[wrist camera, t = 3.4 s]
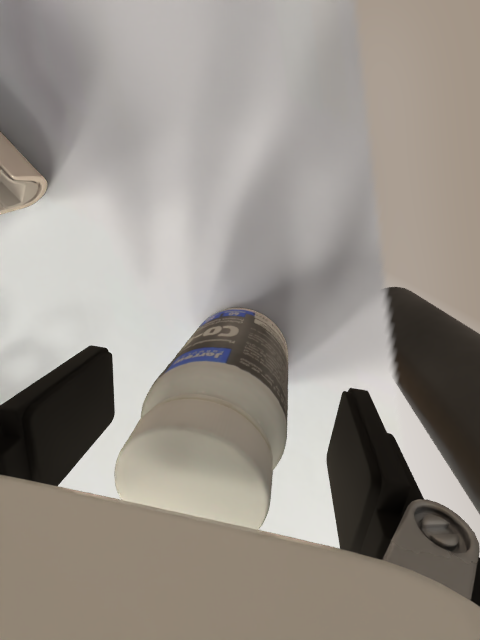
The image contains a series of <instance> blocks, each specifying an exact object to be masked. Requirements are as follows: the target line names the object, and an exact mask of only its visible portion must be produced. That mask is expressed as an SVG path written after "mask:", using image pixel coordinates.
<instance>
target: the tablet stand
mask: <svg viewBox="0 0 480 640" xmlns="http://www.w3.org/2000/svg"><path fill="white" fill-rule="evenodd" d="M46 190H47V181H46V180H45V178H44V177H43V176H42V175H41V174H40V173H39V172H38V171H37V170H36V169H35V168H34V167H33V166H32V165H31V164H30V163H29V162H28V160H27V159H26V158H25V157H24V156H23V155H22V154H21V153H20V152H19V151H18V150H17V149H16V148H15V147H14V146H13V145H12V144H11V142H10V141H9V140H8V139H7V138H6V137H5V136H4V135H3V134H2V133H1V132H0V215H1V214H5V213H8V212H12V211H15V210H18V209H22V208H25V207H28V206H30V205H32V204H34V203H35V202H37V201H38V200H39V199H40V198H41V197H42V196H43V195H44V194H45V192H46Z"/></svg>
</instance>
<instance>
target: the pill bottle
mask: <svg viewBox="0 0 480 640" xmlns="http://www.w3.org/2000/svg"><path fill="white" fill-rule="evenodd" d="M287 410H288V350H287V344H286V341H285V339H284V336H283V334H282V333H281V331H280V330H279V328H278V327H277V326H276V325H275V324H274V323H273V322H272V321H271V320H270V319H269V318H268V317H266V316H265V315H263V314H261V313H259V312H256V311H254V310H250V309H245V308H230V309H225V310H222V311H219V312H217V313H215V314H213V315H212V316H210V317H209V318H207V319H206V320H205V321H204V322H203V323H202V324H201V325H200V326H199V328H198V329H197V330H196V332H195V333H194V334H193V335H192V337H191V338H190V339H189V340H188V341H187V342H186V344H185V345H184V346H183V348H182V349H181V350H180V351H179V353H178V354H177V355H176V357H175V358H174V359H173V361H172V362H171V363H170V364H169V365H168V366H167V368H166V369H165V370H164V371H163V373H162V374H161V375H160V376H159V377H158V378H157V380H156V381H155V382H154V384H153V385H152V387H151V389H150V390H149V392H148V394H147V396H146V398H145V401H144V403H143V407H142V412H141V419H140V421H139V422H138V424H137V425H136V427H135V429H134V431H133V432H132V434H131V435H130V437H129V439H128V440H127V442H126V443H125V445H124V446H123V448H122V449H121V451H120V453H119V456H118V458H117V461H116V466H115V474H114V476H115V485H116V488H117V492H118V494H119V496H120V498H121V500H124V501H129V502H133V503H138V504H143V505H147V506H152V507H156V508H161V509H166V510H170V511H175V512H179V513H184V514H189V515H193V516H198V517H202V518H207V519H211V520H216V521H220V522H225V523H229V524H234V525H238V526H243V527H247V528H252V529H256V530H258V529H259V528H260V527H261V525H262V524H263V522H264V520H265V518H266V516H267V513H268V510H269V506H270V499H271V486H272V475H273V470H274V468H275V467H276V466H277V464H278V462H279V461H280V459H281V457H282V455H283V452H284V449H285V444H286V439H287Z"/></svg>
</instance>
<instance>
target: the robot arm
mask: <svg viewBox="0 0 480 640" xmlns="http://www.w3.org/2000/svg"><path fill="white" fill-rule="evenodd" d="M114 413H115V411H114V387H113V363H112V354H111V353H110V352H108V349H107V348H103V347H97V346H89V347H87V348H86V349H84V350H83V351H81V352H80V353H78V354H77V355H75V356H74V357H72V358H71V359H69V360H68V361H66V362H65V363H63V364H62V365H60V366H59V367H57V368H56V369H54V370H53V371H51V372H50V373H48V374H47V375H45V376H44V377H42V378H41V379H39V380H38V381H36V382H35V383H33V384H32V385H30V386H29V387H27V388H26V389H24V390H23V391H21V392H20V393H18V394H17V395H15V396H14V397H12V398H11V399H9V400H8V401H6V402H5V403H3V404H2V405H0V640H480V558H479V543H478V540H477V538H476V536H475V533H474V532H473V531H472V529H471V528H470V527H469V525H468V524H467V523H466V522H465V521H464V520H463V519H462V518H461V517H460V516H458V515H457V514H456V513H454V512H453V511H452V510H450V509H449V508H447V507H445V506H443V505H441V504H439V503H437V502H433V501H430V500H424V498H423V496H422V494H421V492H420V490H419V488H418V486H417V484H416V482H415V480H414V478H413V475H412V473H411V471H410V469H409V467H408V465H407V463H406V461H405V459H404V457H403V455H402V452H401V450H400V448H399V446H398V444H397V442H396V440H395V438H394V437H393V435H392V434H389V433H387V432H386V430H385V428H384V425H383V423H382V421H381V419H380V417H379V414H378V412H377V410H376V408H375V406H374V403H373V401H372V399H371V397H370V395H369V393H368V391H365V390H359V389H353V388H350V389H349V390H348V392H346V391H344V392H343V393H342V396H341V400H340V404H339V408H338V412H337V416H336V420H335V424H334V428H333V432H332V436H331V440H330V444H329V448H328V452H327V468H328V474H329V480H330V487H331V493H332V499H333V506H334V512H335V518H336V525H337V531H338V537H339V544H340V549H339V548H335V547H330V546H326V545H322V544H317V543H313V542H309V541H305V540H301V539H296V538H292V537H288V536H283V535H279V534H274V533H270V532H265V531H261V530H256V529H252V528H247V527H243V526H238V525H234V524H229V523H225V522H220V521H216V520H211V519H207V518H202V517H198V516H193V515H189V514H184V513H179V512H175V511H170V510H166V509H161V508H156V507H152V506H147V505H143V504H138V503H133V502H129V501H124V500H119V499H115V498H110V497H105V496H101V495H96V494H91V493H86V492H82V491H77V490H72V489H67V488H63V487H58V485H59V484H60V483H61V481H62V480H63V479H64V478H65V477H66V476H67V474H68V473H69V472H70V471H71V470H72V468H73V467H74V466H75V465H76V464H77V462H78V461H79V460H80V459H81V458H82V457H83V455H84V454H85V453H86V452H87V451H88V449H89V448H90V447H91V446H92V445H93V444H94V442H95V441H96V440H97V439H98V438H99V436H100V435H101V434H102V433H103V432H104V430H105V429H106V428H107V427H108V426H109V425H110V423H111V422H112V420H113V418H114Z"/></svg>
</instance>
